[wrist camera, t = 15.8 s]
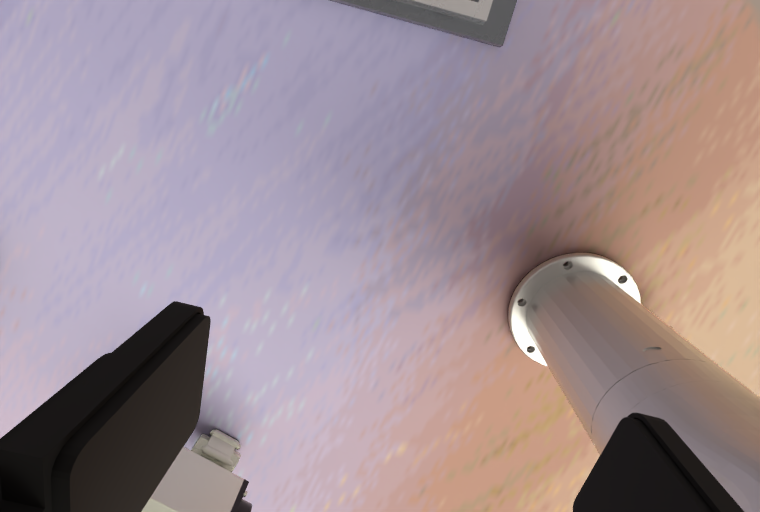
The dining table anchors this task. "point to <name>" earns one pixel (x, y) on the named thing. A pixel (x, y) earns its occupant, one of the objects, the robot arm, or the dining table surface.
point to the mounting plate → (449, 15)
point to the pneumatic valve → (203, 479)
